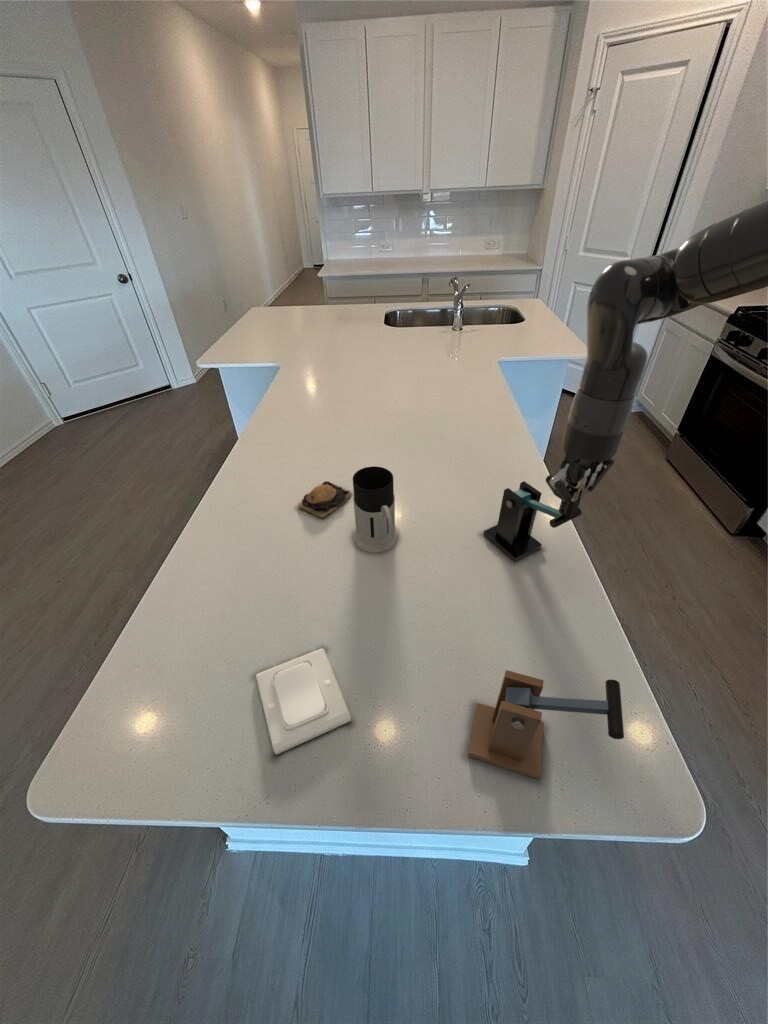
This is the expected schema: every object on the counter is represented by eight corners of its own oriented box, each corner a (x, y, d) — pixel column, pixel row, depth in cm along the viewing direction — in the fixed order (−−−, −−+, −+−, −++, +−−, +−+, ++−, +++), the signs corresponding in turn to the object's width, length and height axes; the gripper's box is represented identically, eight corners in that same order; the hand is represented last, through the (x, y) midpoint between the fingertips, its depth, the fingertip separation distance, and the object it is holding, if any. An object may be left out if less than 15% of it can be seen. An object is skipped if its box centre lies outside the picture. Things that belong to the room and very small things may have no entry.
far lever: (581, 518, 74) (582, 506, 73) (556, 531, 72) (556, 519, 71) (527, 497, 84) (527, 485, 83) (503, 507, 82) (503, 496, 80)
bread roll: (324, 521, 94) (322, 508, 92) (295, 507, 98) (293, 494, 96) (354, 495, 101) (353, 482, 99) (326, 483, 105) (325, 470, 102)
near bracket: (541, 726, 60) (564, 677, 52) (538, 779, 55) (563, 735, 47) (476, 706, 63) (487, 657, 55) (467, 756, 58) (479, 710, 49)
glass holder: (389, 519, 94) (387, 460, 85) (413, 565, 84) (414, 504, 74) (349, 528, 92) (343, 469, 83) (369, 576, 82) (365, 516, 72)
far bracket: (540, 548, 86) (555, 497, 78) (514, 562, 84) (526, 511, 76) (508, 523, 92) (519, 473, 84) (483, 535, 90) (491, 485, 82)
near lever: (621, 689, 49) (618, 677, 48) (625, 742, 45) (622, 730, 44) (513, 683, 55) (508, 672, 54) (508, 730, 51) (502, 719, 50)
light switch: (320, 636, 68) (349, 707, 59) (324, 652, 71) (352, 723, 61) (251, 663, 65) (269, 742, 56) (257, 679, 68) (276, 758, 58)
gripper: (586, 445, 56) (555, 542, 67) (651, 418, 61) (612, 512, 72) (542, 421, 61) (520, 515, 72) (605, 398, 66) (576, 489, 77)
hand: (566, 514), depth 72 cm, fingers closed
